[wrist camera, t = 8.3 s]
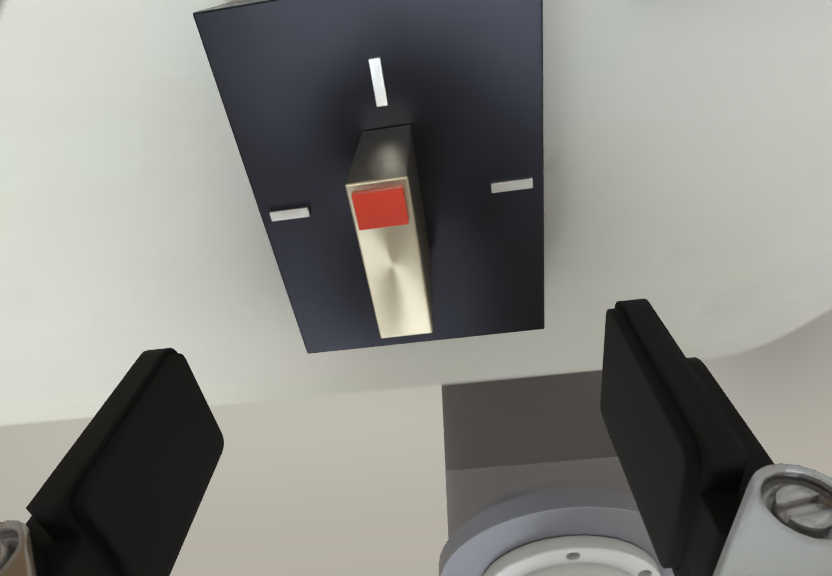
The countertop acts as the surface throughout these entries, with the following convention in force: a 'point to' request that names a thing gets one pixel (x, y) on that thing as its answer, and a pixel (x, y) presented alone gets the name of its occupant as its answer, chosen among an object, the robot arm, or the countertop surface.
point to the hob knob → (392, 230)
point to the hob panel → (384, 108)
